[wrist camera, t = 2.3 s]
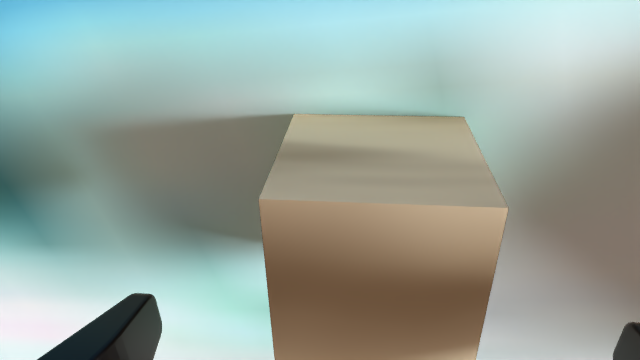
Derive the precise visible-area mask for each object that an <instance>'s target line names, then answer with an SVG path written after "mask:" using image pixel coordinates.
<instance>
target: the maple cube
mask: <svg viewBox="0 0 640 360" xmlns="http://www.w3.org/2000/svg"><path fill="white" fill-rule="evenodd" d="M259 208H260V218H261V228H262V238H263V248H264V258H265V268H266V278H267V288H268V297H269V307H270V317H271V327H272V337H273V347H274V357H275V360H476V356H477V351H478V347H479V342H480V337H481V333H482V328H483V324H484V319H485V314H486V310H487V305H488V301H489V296H490V291H491V287H492V282H493V278H494V273H495V268H496V264H497V259H498V255H499V250H500V245H501V241H502V236H503V232H504V227H505V222H506V218H507V213H508V209H509V208H508V206H507V204H506V202H505V200H504V197H503V195H502V193H501V191H500V189H499V187H498V185H497V183H496V181H495V179H494V177H493V175H492V173H491V171H490V169H489V167H488V165H487V163H486V161H485V159H484V157H483V155H482V153H481V150H480V148H479V146H478V144H477V142H476V140H475V138H474V136H473V134H472V132H471V130H470V128H469V126H468V124H467V122H466V120H465V118H464V117H438V116H381V115H324V114H294V115H293V118H292V120H291V122H290V125H289V127H288V130H287V132H286V134H285V137H284V139H283V142H282V144H281V146H280V149H279V151H278V154H277V156H276V158H275V161H274V163H273V166H272V168H271V170H270V173H269V175H268V178H267V180H266V182H265V185H264V187H263V190H262V192H261V194H260V197H259Z"/></svg>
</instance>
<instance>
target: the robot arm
mask: <svg viewBox="0 0 640 360" xmlns="http://www.w3.org/2000/svg"><path fill="white" fill-rule="evenodd" d="M161 333H162V321H161V317H160V314H159V310H158V306H157V302H156V299H155V297H154V296H153V295H151V294H142V293H134V294H131V295H129V296H128V297H126V298H125V299H123V300H122V301H121V302H119V303H118V304H116V305H115V306H113V307H112V308H111V309H109V310H108V311H106V312H105V313H103V314H102V315H100V316H99V317H98V318H96V319H95V320H93V321H92V322H90V323H89V324H88V325H86V326H85V327H83V328H82V329H80V330H79V331H77V332H76V333H75V334H73V335H72V336H70V337H69V338H67V339H66V340H65V341H63V342H62V343H60V344H59V345H57V346H56V347H55V348H53V349H52V350H50V351H49V352H47V353H46V354H44V355H43V356H42V357H40V358H39V359H37V360H153V358H154V355H155V352H156V349H157V346H158V343H159V340H160V337H161ZM613 360H640V323H639V322H630V323H628V324H626V325H625V327H624V329H623V331H622V334H621V336H620V338H619V341H618V343H617V345H616V347H615V350H614V353H613Z"/></svg>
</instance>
